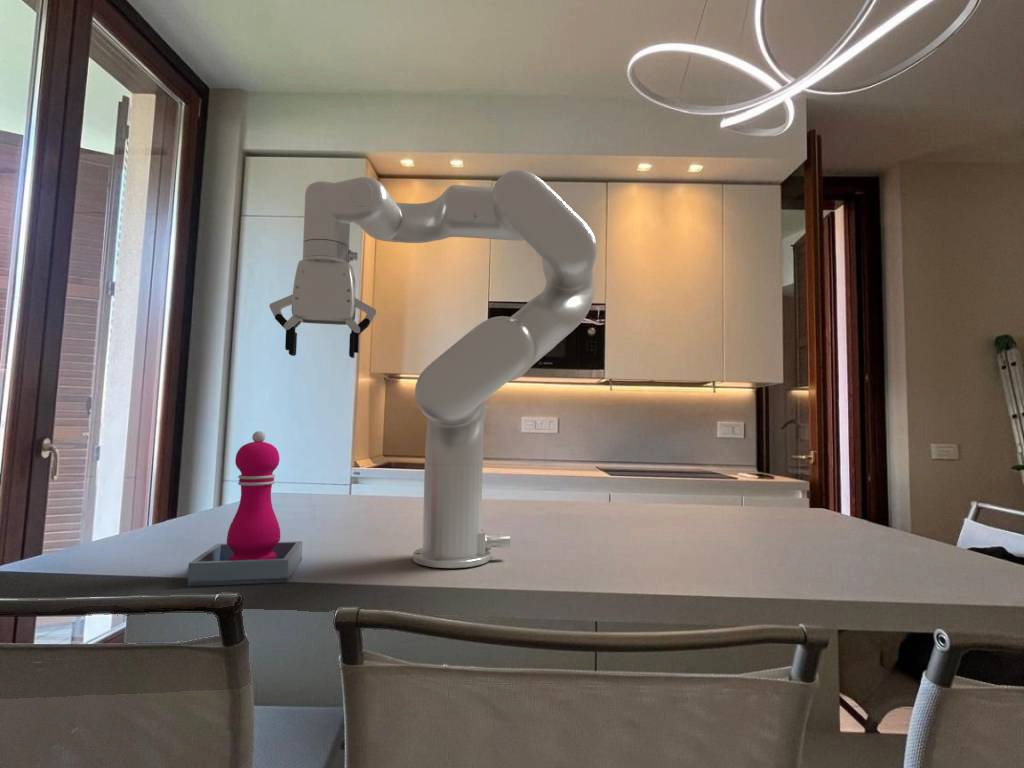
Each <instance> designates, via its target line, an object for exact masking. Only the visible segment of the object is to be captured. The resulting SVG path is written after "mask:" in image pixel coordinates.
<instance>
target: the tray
mask: <svg viewBox="0 0 1024 768" xmlns="http://www.w3.org/2000/svg"><path fill="white" fill-rule="evenodd" d="M272 552H274V553H275V554H276V559H264V560H235V561H229V558H230V557H231V556H232V555H234V552H233V551H232V550H231V549H230V548H229V547H228V545H227V542H226V543H216V544H215V545H213V546H212V547H210V548H209V549H208V550H205V552H203V553H202V554H200V555H199V556H197V557H196V558H194V559H192V560H191V561H190V562H188V568H187V569H188V570H187V587H200V586H201V587H202V586H205V587H206V586H207V587H208V586H223V585H225V586H228V585H229V586H230V585H251V584H272V583H275V584H276V583H288V582H289V580H290V579H291V577H292V576H293V575H294V573H295V571H296V570H297V569H298V566H299V565H300V564H301V562H302V557H303V541H302V540H301V541H296V540H295V541H279V542H278V544H277V545H276V546H275V547H274V549H273V550H272Z"/></svg>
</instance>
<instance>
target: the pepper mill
mask: <svg viewBox="0 0 1024 768" xmlns="http://www.w3.org/2000/svg"><path fill="white" fill-rule="evenodd" d="M265 440H266V434H265V432H263V431H261V430H258V431H255V432H254V433H253V434H252V442H248V443H246V444H244V445H242V446H240V448H239V449H238V450H237V452H236V454H235V462H234V463H235V466H236V468H237V470H239V471H240V473H241V474H239V475H238V476H237V477H238V482H237V484H238V485H239V486H240V498H239V499H240V500H239V505H238V507H237V510H236V512H235V515H234V517H233V519H232V521H231V523H230V526H229V528H228V531H227V534H226V543H227V545H228V547H229V548H230V549H231V550H232V551H233V552H234V555H232V556H231V557H230V558H229V561H235V560H264V559H276V554H275V553H274V552H272V550H273V549H274V547H275V546H276V545H277V544H278V542H281V528H280V525H279V521H278V519H277V516H276V514H275V511H274V509H273V503H272V486H273V485H274V484H275V482H276V481H275V478H276V475H275V474H274V471H276V469H277V468H278V466H279V463H280V453H279V451H278V449H277V448H276V447H275V445H273V444H271V443H269V442H265Z"/></svg>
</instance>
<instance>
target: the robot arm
mask: <svg viewBox="0 0 1024 768" xmlns="http://www.w3.org/2000/svg"><path fill="white" fill-rule="evenodd" d="M303 214H304V217H303V241H302V246H303V247H302V260H299V261H298V263H297V267H296V271H295V275H294V282H293V288H292V294H290V295H287V296H285V297H283V298H281V299H279V300H275V301H273V302H271V303H270V304H269V306H268V307H269V309H270V311H271V313H272V315H273V316H274V319H275V320H276V321H277V323H278V324H280V326H281V327H283V328H284V330H285V343H284V344H285V345H284V349H285V351H288V355H290V356H292V357H296V355H297V345H298V344H297V343H298V340H297V339H298V333H297V332H296V329H297V328H298V327H299V326H300V325H301V324H302V323H303V324H319V325H337V326H339V325H340V326H343V325H345V326H346V325H347V326H348V328H349V329H350V330H351V332H350V333H349V343H348V344H349V346H348V349H349V350H348V356H349V357H350V358H351V359H355V355H356V354H358V353H359V348H360V347H359V346H360V345H359V344H360V335H361V334H362V333H363V332H364V331H365V330H366V329H367V328H369V326H370V325H371V323H372V321H374V319H375V316H376V314H377V310H376V309H375V308H374V307H372V306H371V305H368V304H367V303H365V302H363V301H362V300H360V299H359V298H356V297H357V296H356V279H355V272H354V267H353V266H352V264H350V263H351V262H352V261H358V258H359V257H358V256H359V255H358V252H357V251H356V252H354V251H353V250H352V249H350V238H351V237H350V235H351V234H350V232H351V230H350V229H351V223H354V224H356V225H358V226H359V227H360V228H361V229H362V231H364V232H365V233H366V235H368V236H369V237H371V238H373V239H375V240H379V241H383V242H389V243H390V242H391V243H405V244H406V243H407V244H421V243H423V244H424V243H430V242H434V241H441V240H445V239H449V238H469V239H470V238H471V239H489V240H500V241H501V240H503V241H526V243H527V244H528V245H529V246H530V247H532V249H533V250H534V251H535V252H536V253H537V254H538V255H539V256H540V257H541V262H542V272H543V274H544V277H545V281H546V283H545V287H544V289H543V290H542V292H540V293H539V294H538V295H536V296H534V297H533V298H532V299H531V300H529V301H528V302H527V303H526V304H524V305H523V306H522V307H521V308H520V309H519V310H518V311H516V312H515V313H514V314H512V315H511V316H506V315H505V316H504V315H501V316H494V317H490V318H488V319H486V320H484V321H482V322H481V323H479V324H478V325H476V326H475V327H473V328H472V329H470V331H469V332H467V333H466V334H464V336H462V337H461V338H460V339H458V340H457V342H455V343H453V345H451V346H450V347H448V349H446V350H445V351H443V353H442V354H440V355H439V356H437V358H435V359H434V360H433V361H432V362H431V363H430V364H429V365H427V366H426V367H425V368H424V369H423V370H422V372H421V373H420V375H419V376H418V378H417V381H416V382H415V387H414V398H415V402H416V405H417V407H418V409H419V410H420V412H421V413H422V414H423V415H424V416H425V417H427V423H426V432H425V433H426V435H425V444H424V445H425V447H424V448H425V450H424V452H425V453H424V476H423V477H424V480H423V481H424V482H423V483H424V484H423V521H422V547H420V548H417V549H416V550H414V551H413V553H412V561H413V562H414V563H415V564H418V565H421V566H424V567H430V568H437V569H462V568H464V569H465V568H473V567H476V566H477V567H478V566H481V565H484V564H487V563H488V562H489V561H490V560H491V554H492V552H491V549H492V548H498V549H501V548H502V549H503V548H504V549H505V548H508V549H509V548H510V547H511V537H510V535H501V534H486V532H485V531H484V529H483V528H482V524H483V523H482V522H483V521H482V516H483V515H482V514H483V511H482V510H483V509H482V507H483V463H484V437H485V435H484V434H485V433H484V430H485V417H486V400H487V399H488V398H490V397H491V396H492V395H494V393H496V392H497V391H498V390H499V389H501V388H502V387H503V386H504V385H506V384H507V383H508V382H512V381H516V380H517V379H519V378H521V377H522V376H523V375H525V374H526V373H527V372H528V370H530V369H531V368H532V367H533V366H534V365H535V364H536V363H537V362H538V361H540V360H541V359H542V358H543V357H544V356H546V355H547V354H548V353H549V352H551V351H552V350H553V349H554V348H555V347H556V346H557V345H558V344H559V343H560V342H561V341H563V340H564V339H565V338H566V337H568V335H570V334H571V333H573V332H574V330H576V328H578V327H579V325H581V323H582V322H583V321H584V320H585V318H586V317H587V315H588V314H589V311H590V309H591V307H592V305H593V300H594V294H595V283H594V274H593V273H594V272H593V268H594V264H595V261H596V258H597V253H598V246H597V241H596V237H595V234H594V233H593V231H592V229H591V228H590V227H589V226H588V224H587V222H585V221H584V220H583V219H582V218H581V217H580V216H579V215H578V214H577V213H576V212H575V211H574V210H573V208H571V207H570V206H569V205H568V204H567V203H566V202H565V201H564V200H563V199H562V198H561V196H559V195H558V194H557V193H556V192H555V191H554V190H553V189H552V188H551V187H550V186H549V185H548V184H547V183H546V182H545V181H544V180H542V178H540V177H539V176H537V175H536V174H534V173H532V172H530V171H528V170H525V169H524V170H522V169H520V170H519V169H515V170H514V169H513V170H510V171H508V172H505V173H503V174H502V175H500V177H499V178H498V179H497V181H496V182H495V184H494V186H477V185H466V184H465V185H463V184H462V185H461V184H453V185H450V186H448V187H447V188H446V189H445V190H444V192H442V194H441V195H440V196H438V197H437V198H436V199H434V200H432V201H431V200H430V201H428V202H421V203H407V202H406V203H405V202H396V201H395V200H394V199H393V197H392V195H391V194H390V193H389V192H388V190H387V189H386V188H385V186H384V185H383V183H381V181H379V180H377V179H375V178H373V177H367V176H361V177H355V178H349V179H347V180H342V181H338V182H337V181H335V182H333V181H332V182H331V181H320V180H319V181H315V182H312V183H310V184H309V185H308V186H307V187H306V190H305V194H304V213H303ZM289 306H291V314H292V316H291V317H289V318H288V319H286V318H285V317H284V315H283V313H282V309H284V308H286V307H289ZM357 310H360V311H362V312H364V313H365V316H364V318H363V319H362V320H361V321H360V322H359V323H357V322H356V321H355V320H356V314H357V313H356V311H357ZM355 353H356V354H355Z"/></svg>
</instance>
